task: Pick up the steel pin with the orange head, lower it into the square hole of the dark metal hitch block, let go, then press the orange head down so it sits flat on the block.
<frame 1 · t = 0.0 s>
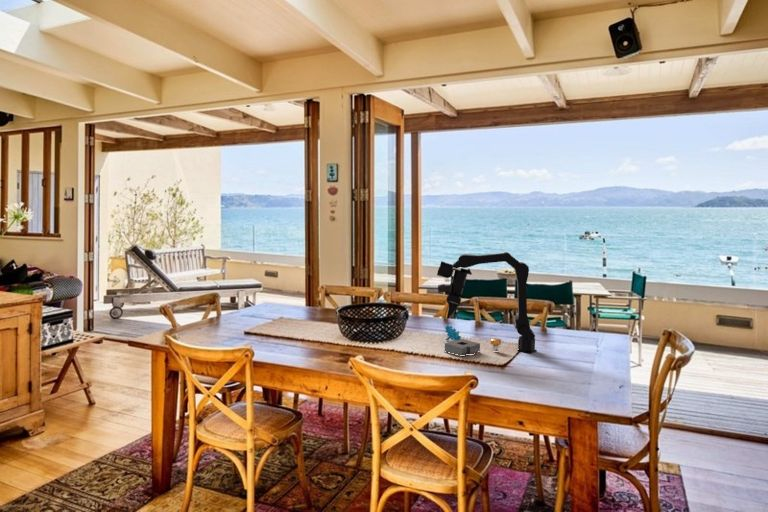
hand: (449, 313, 224), 15 cm above the table, tool pointing down, fingers open, 9 cm apart
pin: (495, 351, 218), on the table
hitch block: (462, 352, 217), on the table
blue lobed piece: (453, 341, 236), on the table
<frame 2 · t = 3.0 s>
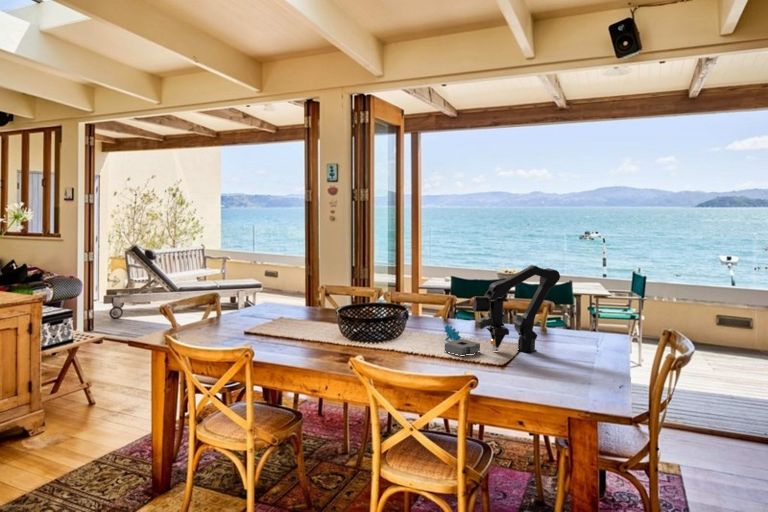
hand: (495, 346, 218), 3 cm above the table, tool pointing down, fingers closed on pin, 4 cm apart
pin: (495, 351, 218), on the table, touching gripper
everything else where it was.
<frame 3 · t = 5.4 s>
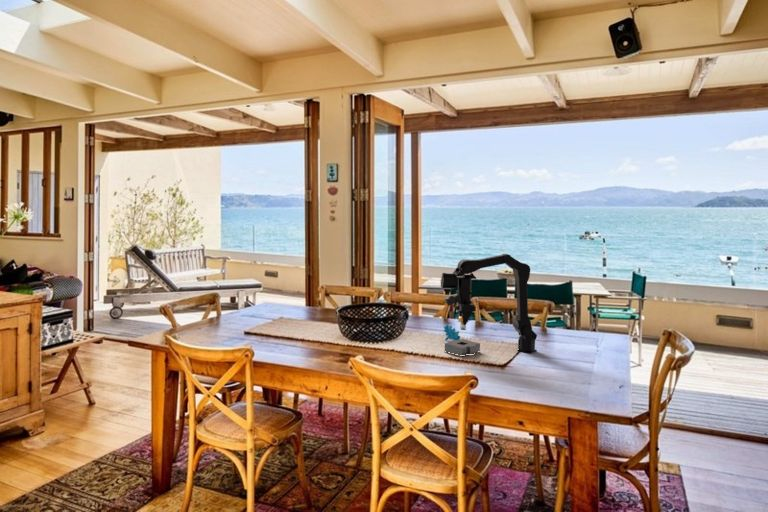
hand: (463, 323, 216), 13 cm above the table, tool pointing down, fingers closed on pin, 4 cm apart
pin: (463, 329, 217), point 10 cm above the table, touching gripper
everything else where it was.
when the fingers open (5 cm above the table, at t = 8.0 s): pin drops 2 cm, resting on hitch block.
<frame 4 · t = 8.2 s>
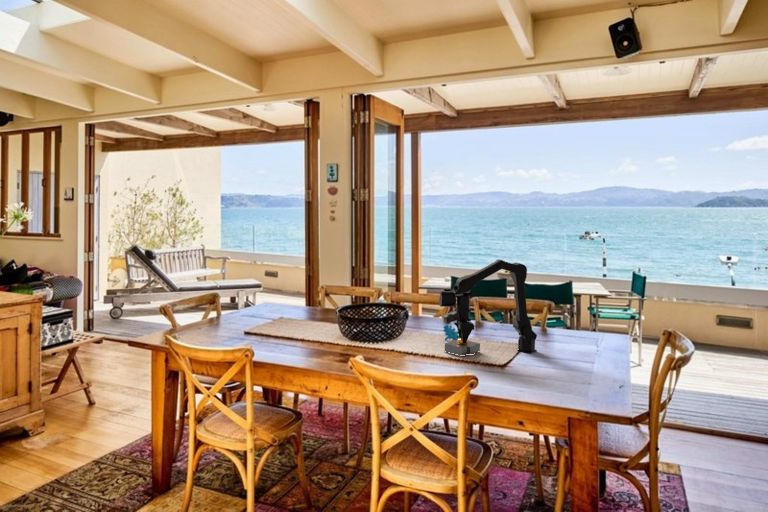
hand: (462, 341, 217), 5 cm above the table, tool pointing down, fingers open, 7 cm apart
pin: (462, 351, 217), resting on hitch block
everything else where it was.
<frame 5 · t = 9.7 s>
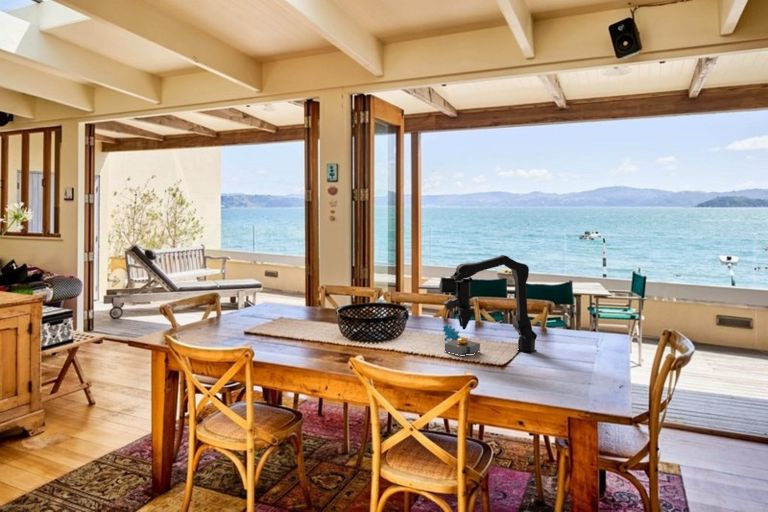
hand: (462, 327, 216), 11 cm above the table, tool pointing down, fingers open, 5 cm apart
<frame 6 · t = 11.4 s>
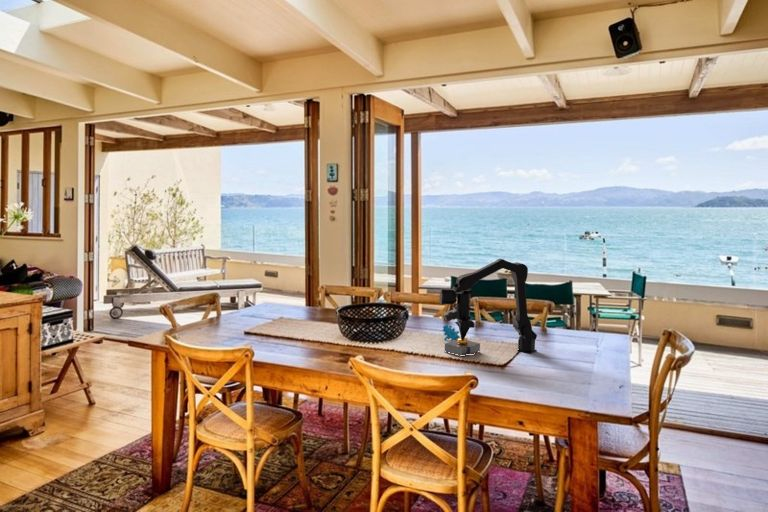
hand: (462, 339, 217), 6 cm above the table, tool pointing down, fingers closed, pressing on pin
pin: (462, 351, 217), resting on hitch block, touching gripper
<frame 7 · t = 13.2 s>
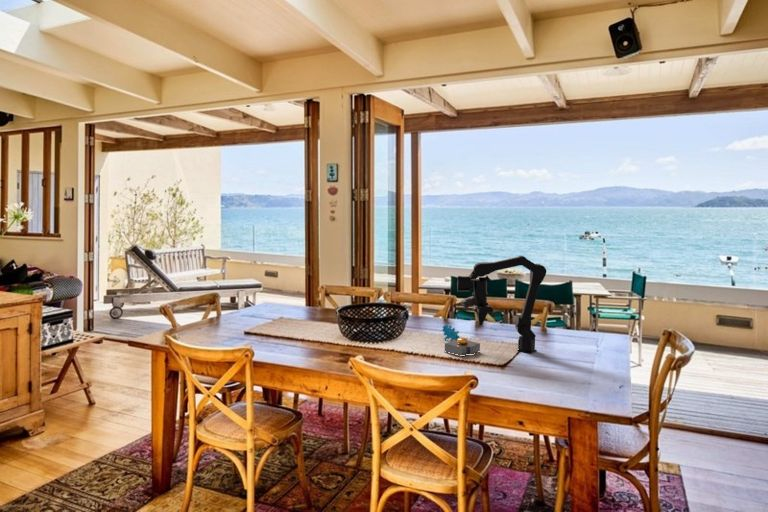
hand: (480, 325, 221), 11 cm above the table, tool pointing down, fingers closed
pin: (462, 351, 217), resting on hitch block
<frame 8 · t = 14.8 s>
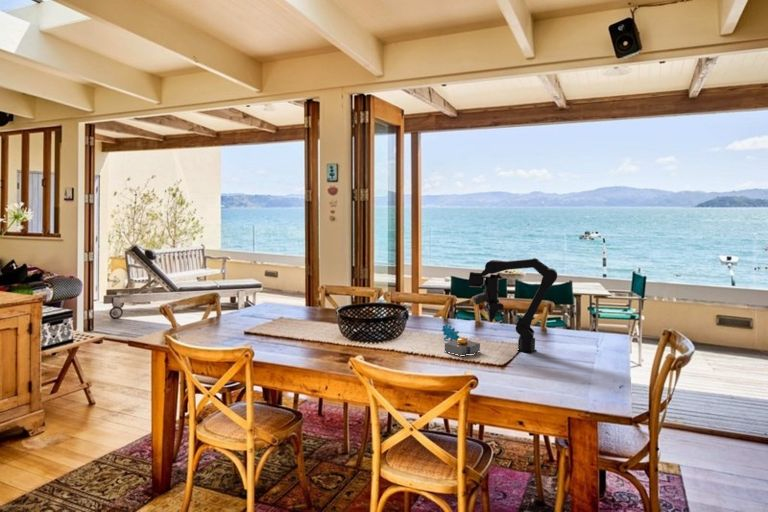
hand: (490, 321, 224), 12 cm above the table, tool pointing down, fingers closed
at the end: pin 0.0 cm off-centre on the hitch block, point 0.4 cm above the hitch block's base; pin tilted 0°; the gripper is holding nothing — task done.
